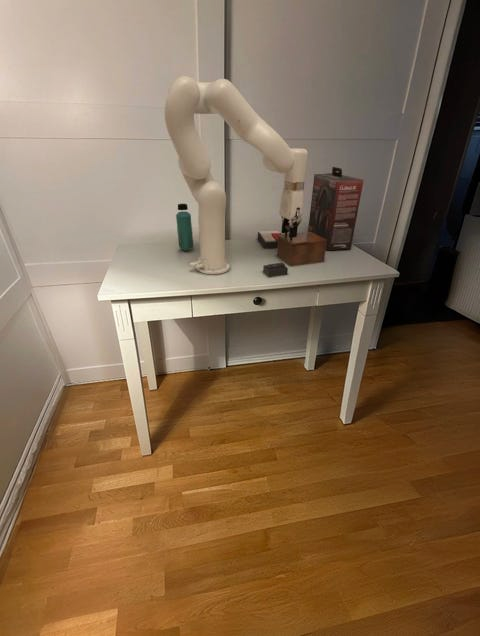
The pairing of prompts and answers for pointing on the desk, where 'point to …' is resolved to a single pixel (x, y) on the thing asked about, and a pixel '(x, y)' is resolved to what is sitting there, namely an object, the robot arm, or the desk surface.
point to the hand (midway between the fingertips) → (288, 234)
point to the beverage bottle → (184, 228)
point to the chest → (301, 253)
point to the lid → (300, 237)
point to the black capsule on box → (275, 269)
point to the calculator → (268, 238)
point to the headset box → (335, 208)
